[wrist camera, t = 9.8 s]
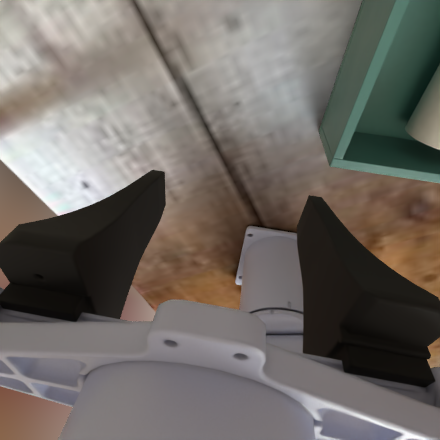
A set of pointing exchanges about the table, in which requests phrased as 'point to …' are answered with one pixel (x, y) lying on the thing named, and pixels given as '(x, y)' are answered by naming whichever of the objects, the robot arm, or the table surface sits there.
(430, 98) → the paper roll
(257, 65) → the table surface
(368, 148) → the open storage box
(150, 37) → the table surface
